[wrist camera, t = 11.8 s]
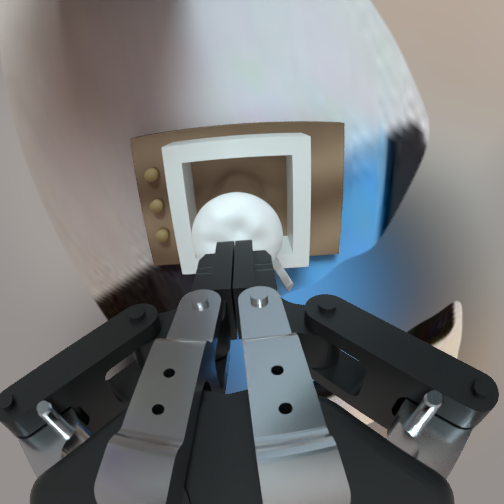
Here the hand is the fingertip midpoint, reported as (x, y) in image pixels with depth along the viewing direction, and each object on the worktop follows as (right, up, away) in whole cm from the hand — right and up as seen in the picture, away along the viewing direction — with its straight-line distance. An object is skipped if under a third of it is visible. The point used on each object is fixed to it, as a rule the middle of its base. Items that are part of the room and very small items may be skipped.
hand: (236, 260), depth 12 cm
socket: (0, +5, +9) cm, 10 cm away
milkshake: (0, +5, +9) cm, 10 cm away
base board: (0, +5, +10) cm, 11 cm away
